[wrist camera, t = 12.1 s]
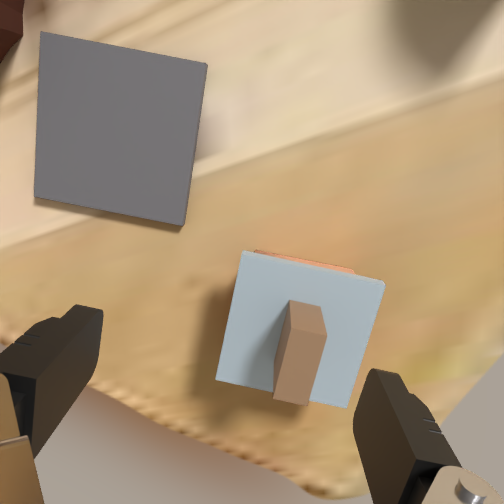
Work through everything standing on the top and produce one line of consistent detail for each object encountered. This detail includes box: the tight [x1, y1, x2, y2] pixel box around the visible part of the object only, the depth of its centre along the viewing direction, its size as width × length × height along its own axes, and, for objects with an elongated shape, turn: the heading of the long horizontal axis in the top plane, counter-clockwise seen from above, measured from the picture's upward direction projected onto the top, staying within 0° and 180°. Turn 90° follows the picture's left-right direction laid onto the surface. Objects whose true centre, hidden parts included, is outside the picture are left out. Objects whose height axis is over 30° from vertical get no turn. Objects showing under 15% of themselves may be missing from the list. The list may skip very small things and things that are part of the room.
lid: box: [215, 250, 386, 408], centre depth 28 cm, size 10×10×5 cm
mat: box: [34, 31, 208, 226], centre depth 32 cm, size 12×12×1 cm
